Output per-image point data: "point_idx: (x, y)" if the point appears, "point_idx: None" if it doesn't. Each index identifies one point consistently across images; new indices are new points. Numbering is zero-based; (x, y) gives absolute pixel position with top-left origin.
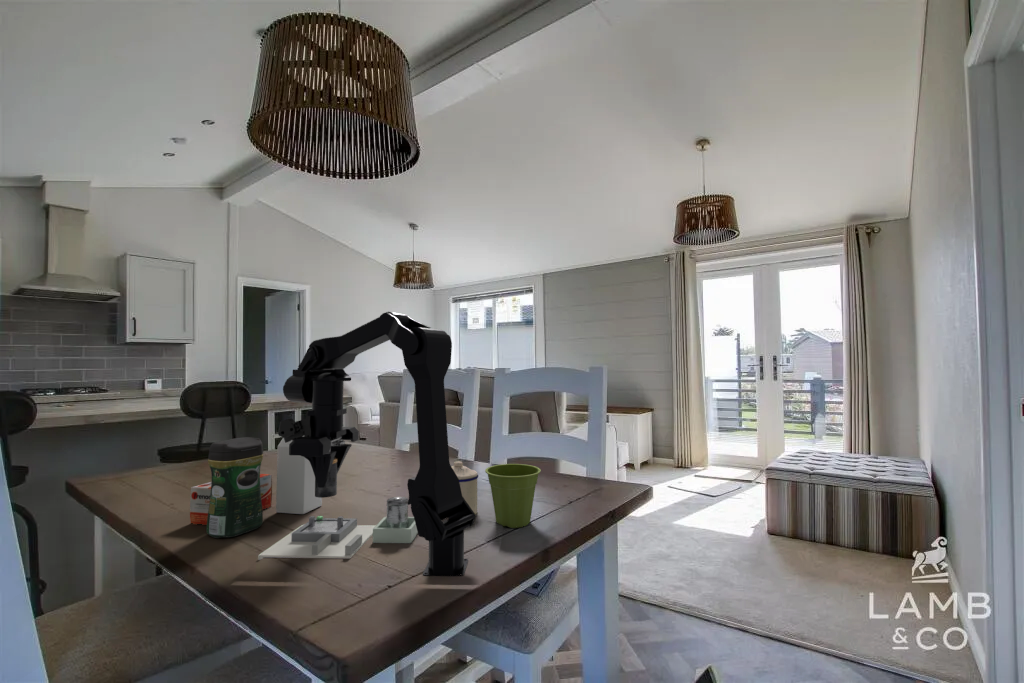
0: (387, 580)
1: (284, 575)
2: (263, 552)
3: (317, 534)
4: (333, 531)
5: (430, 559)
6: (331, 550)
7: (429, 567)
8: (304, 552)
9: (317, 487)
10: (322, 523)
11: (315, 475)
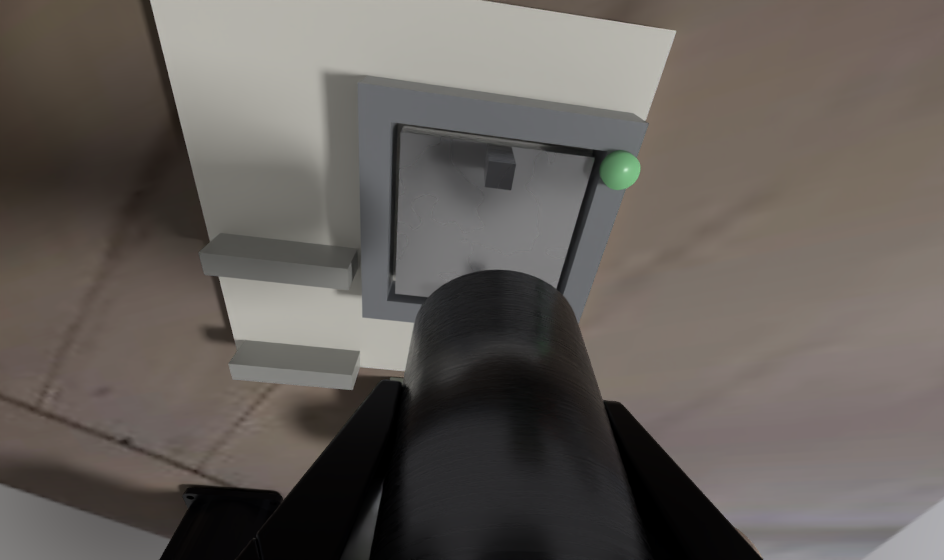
0: (153, 435)
1: (58, 170)
2: None
3: (360, 227)
4: (404, 284)
5: (192, 529)
6: (278, 290)
7: (208, 506)
8: (235, 196)
9: (413, 359)
10: (538, 202)
11: (304, 486)
